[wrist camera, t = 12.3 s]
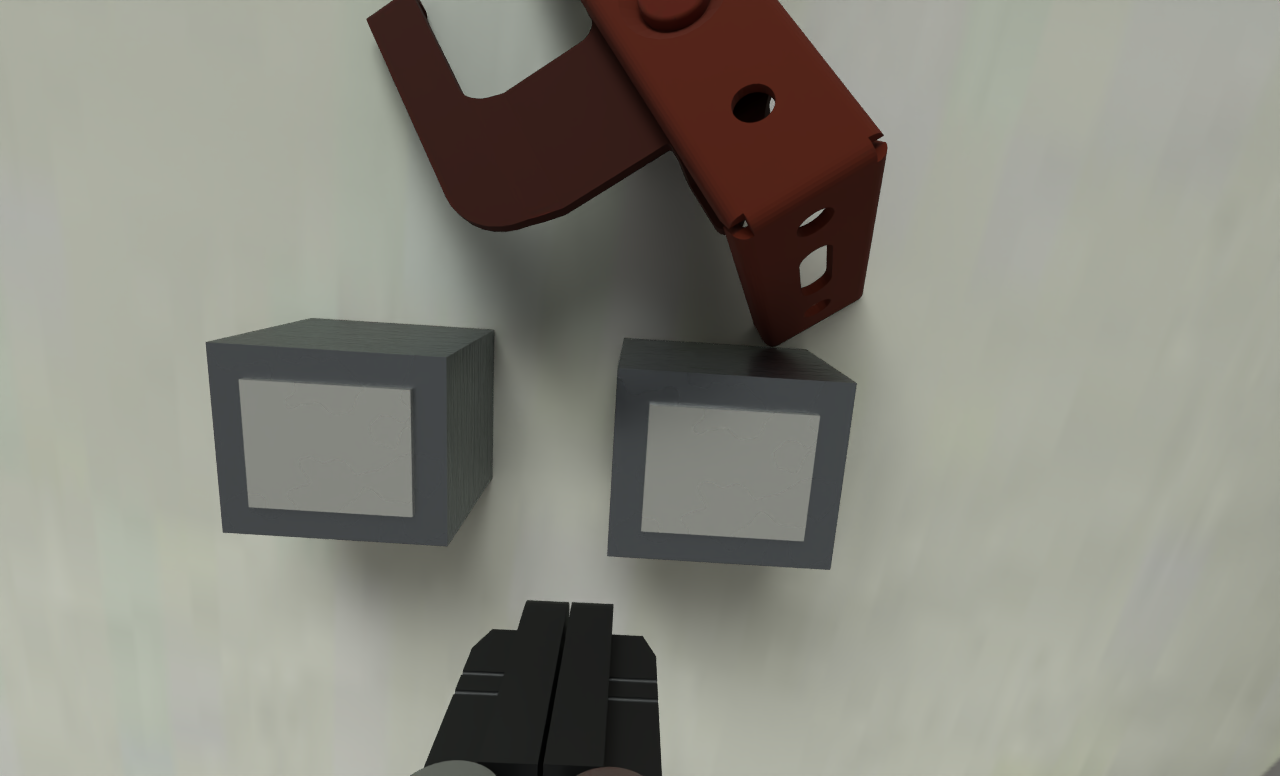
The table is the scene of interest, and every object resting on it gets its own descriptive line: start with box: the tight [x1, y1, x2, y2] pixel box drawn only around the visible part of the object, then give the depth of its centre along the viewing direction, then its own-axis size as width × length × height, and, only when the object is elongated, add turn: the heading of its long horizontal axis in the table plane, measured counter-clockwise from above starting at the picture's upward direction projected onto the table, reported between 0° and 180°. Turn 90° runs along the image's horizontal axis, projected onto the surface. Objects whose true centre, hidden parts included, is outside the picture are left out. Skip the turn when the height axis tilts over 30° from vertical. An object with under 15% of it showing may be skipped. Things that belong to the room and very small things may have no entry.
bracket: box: [367, 0, 887, 347], centre depth 22 cm, size 10×14×10 cm
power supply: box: [206, 318, 494, 546], centre depth 22 cm, size 7×6×6 cm
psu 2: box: [607, 338, 857, 570], centre depth 22 cm, size 7×6×6 cm
